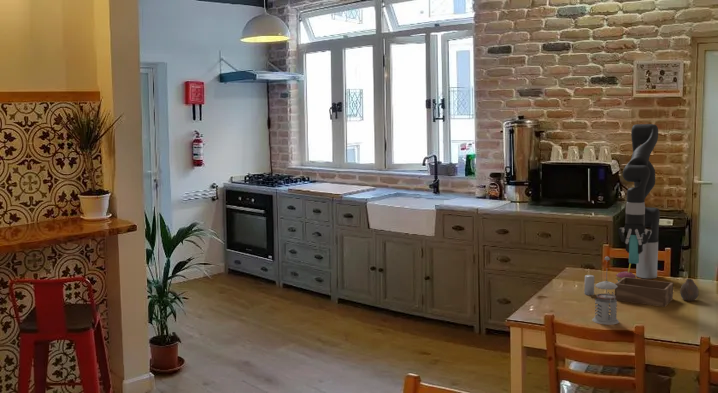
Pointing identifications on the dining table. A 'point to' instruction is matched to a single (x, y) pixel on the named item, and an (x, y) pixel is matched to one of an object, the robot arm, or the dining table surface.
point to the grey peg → (589, 285)
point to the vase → (689, 290)
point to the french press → (606, 303)
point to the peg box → (644, 291)
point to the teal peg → (633, 250)
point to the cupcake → (625, 274)
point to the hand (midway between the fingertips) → (634, 252)
